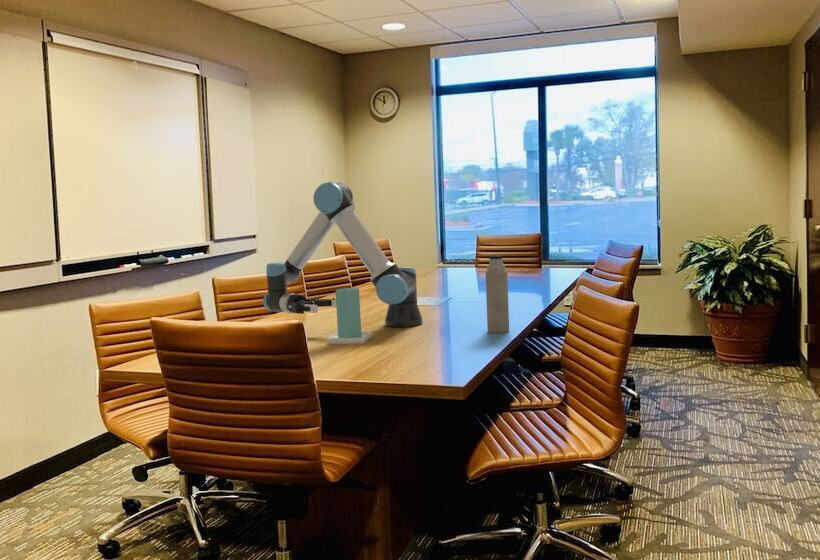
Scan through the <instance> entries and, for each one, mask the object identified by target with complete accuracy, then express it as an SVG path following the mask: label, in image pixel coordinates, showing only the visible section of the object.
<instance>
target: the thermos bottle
mask: <svg viewBox="0 0 820 560" xmlns="http://www.w3.org/2000/svg"><path fill="white" fill-rule="evenodd" d="M488 258H489V262H488V263H489V264H487V265H486V270H485V287H486V288H485V297H486V299H485V300H486V323H487V325H486V326H487V327H486V328H487V332H488V333H490V332H492V333H491V334H502V333H508V332H510V317H509V316H510V315H509V314H510V313H509V311H510V310H509V308H510V307H509V285H508V283H509V282H508V281H509V280H508V270H507V269H506V264H504V262H503V255H490V256H489V257H488Z"/></svg>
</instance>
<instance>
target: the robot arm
mask: <svg viewBox="0 0 820 560" xmlns="http://www.w3.org/2000/svg"><path fill="white" fill-rule="evenodd" d="M312 198H313V204H314V206H315V208H316V209H317V210H318V211H319V213H318V214H317V215H316V216H315V218H314V220H313V221H312V223H311V224H310V225H309V226H308V228H307V230H306V231H305V233H304V234H303V236H302V237H301V238H300V240H299V241H298V243H297V244H296V245H295V247H294V249H293V250H292V251H291V252H290V255H289V256H288V257H287V258H286V260H285V261H284V262H277V261H276V262H269V263H268V264H267V265H266V273H265V274H266V282H267V293H266V294H264V296H263V299H262V304H263V307H264V308H265V309H266V310H268V311H272V312H274V313H275V312H277V313H288V314H289V315H291V314H299V315H300V314H302V315H303V314H305V313H312V314H313V313H314V314H318V313H319V310H318V308H320V307H321V308H322V307H332V308H336V298H335V297H332V298H312V299H311V298H306V296H304V295H303V294H301V293H299V294H298V293H290V292H289V293H288V286H287V285H288V284H291V283H292V284H293V283H294V282H296V281H297V280H298V279H299V278H300V277H301V272H302V271H303V269H304V268H305V266H306V264H308V262H309V261H310V259H311V258H312V256H313V255H314V254H315V252H316V251H317V249H318V248H319V247H320V245H321V243H322V242H323V241H324V239H325V238H326V237H327V235H328V234H329V232H330V231H331V229H332V228H333V227H334V226H335V224H336V225H337V227H338V229H339V230H340V231H341V232H342V234H343V236H344V237H345V239H346V240H347V241H348V243H349V244H350V245H351V248H352V249H353V250H354V252H355V253H356V254H357V256H358V257H359V259H360V260H361V261H362V263H363V265H364V266H365V268H366V269H367V270H368V272H369V273H370V275H371V276H370V282H371V283H372V285H373V286H374V288H375V293H376V296H377V298H378V299H379V300H380V301H381V302H382V303H384V304H387V305H388V308H387V311H386V315H385V319H384V325H385V326H386V327H391V328H406V327H407V328H408V327H416V326H420V325H422V324H423V316H422V313H421V310H420V308H419V305H418V295H417V294H418V292H417V291H418V289H417V271H416V268H414V267H406V266H405V267H404V266H402V267H401V266H400V267H398V265H397V263H395V262H391V261H390V260H389V258H387V256H386V254H385V252H383V250H382V249H381V247H380V246H379V245H378V243H377V241H376V240H375V239H374V237H373V235H372V234H371V232H369V230H368V228H367V226H366V225H365V224H364V223H363V221H362V220H361V218H360V217H359V215H358V214H357V212H356V211H355V209H356V205H355V203H354V202H353V201H354V200H353V198H354V196H353V192H352V190H351V188H350V187H349V186H348V185H346V184H345V183H342V182H334V181H327V182H323V183H321V184H320V185H318V186H317V187H316V189H315V191H314V193H313V197H312Z"/></svg>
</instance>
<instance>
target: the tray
mask: <svg viewBox="0 0 820 560" xmlns="http://www.w3.org/2000/svg"><path fill="white" fill-rule="evenodd" d="M372 334H373V332H372V331H370V330H369V331H368V330H367V331H361V335H362V338H338V331H337V332H335V333H333V334H332V335H331V336H329V337H328V338H327V340H326V341H327V345H353V344H354V345H358V344H359V345H360V344H362V345H365V343H366V342H367V341H369V340H370V339H371V338H372V337H373V335H372Z"/></svg>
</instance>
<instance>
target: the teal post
mask: <svg viewBox="0 0 820 560" xmlns="http://www.w3.org/2000/svg"><path fill="white" fill-rule="evenodd" d="M335 299H336V307H335V308H336V321H337V332H338V338H362V335H361V332H362V319H361V301H360V299H361V298H360V288H356V287H345V288H338V289H335Z"/></svg>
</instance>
